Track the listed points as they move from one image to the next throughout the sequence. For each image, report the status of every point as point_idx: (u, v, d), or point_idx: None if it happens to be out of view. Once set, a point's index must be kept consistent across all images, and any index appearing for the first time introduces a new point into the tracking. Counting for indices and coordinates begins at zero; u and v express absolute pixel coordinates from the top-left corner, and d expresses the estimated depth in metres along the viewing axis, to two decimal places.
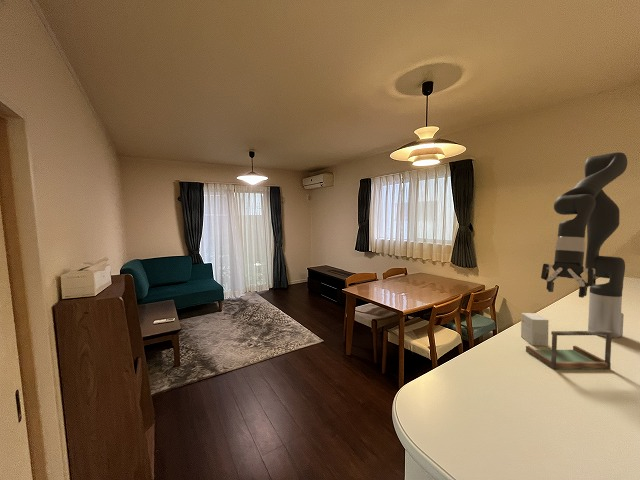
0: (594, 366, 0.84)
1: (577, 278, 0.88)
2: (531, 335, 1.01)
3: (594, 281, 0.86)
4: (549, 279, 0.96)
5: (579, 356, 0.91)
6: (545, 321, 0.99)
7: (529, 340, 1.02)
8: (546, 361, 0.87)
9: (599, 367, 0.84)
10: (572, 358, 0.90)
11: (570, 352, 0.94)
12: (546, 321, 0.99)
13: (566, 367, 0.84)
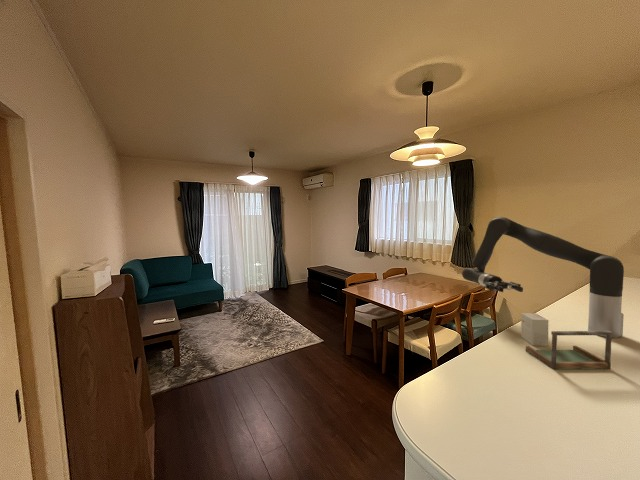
0: (594, 366, 0.84)
1: None
2: (531, 335, 1.01)
3: (488, 284, 1.22)
4: None
5: (579, 356, 0.91)
6: (545, 321, 0.99)
7: (529, 340, 1.02)
8: (546, 361, 0.87)
9: (599, 367, 0.84)
10: (572, 358, 0.90)
11: (570, 352, 0.94)
12: (546, 321, 0.99)
13: (566, 367, 0.84)
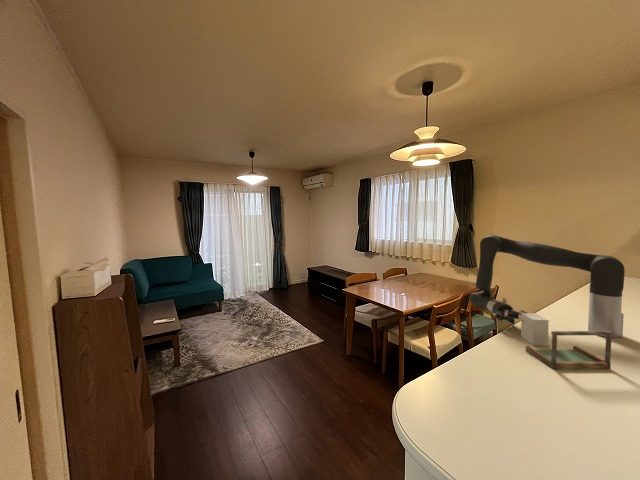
0: (594, 366, 0.84)
1: None
2: (531, 335, 1.01)
3: (498, 314, 1.16)
4: None
5: (579, 356, 0.91)
6: (545, 321, 0.99)
7: (529, 340, 1.02)
8: (546, 361, 0.87)
9: (599, 367, 0.84)
10: (572, 358, 0.90)
11: (570, 352, 0.94)
12: (546, 321, 0.99)
13: (566, 367, 0.84)
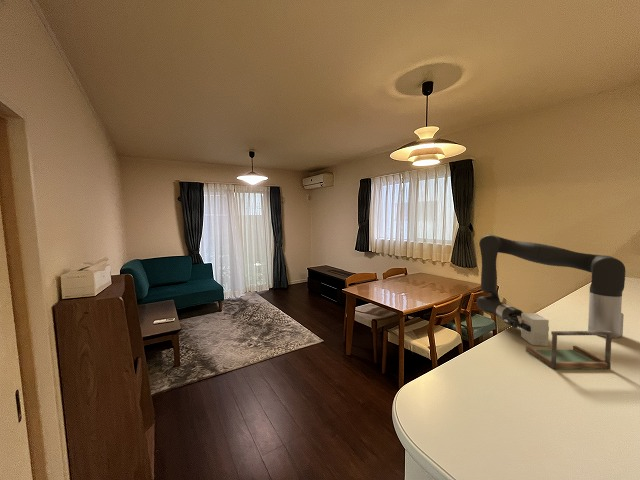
0: (594, 366, 0.84)
1: None
2: (531, 335, 1.01)
3: (512, 321, 1.07)
4: None
5: (579, 356, 0.91)
6: (545, 321, 0.99)
7: (529, 340, 1.02)
8: (546, 361, 0.87)
9: (599, 367, 0.84)
10: (572, 358, 0.90)
11: (570, 352, 0.94)
12: (546, 321, 0.99)
13: (566, 367, 0.84)
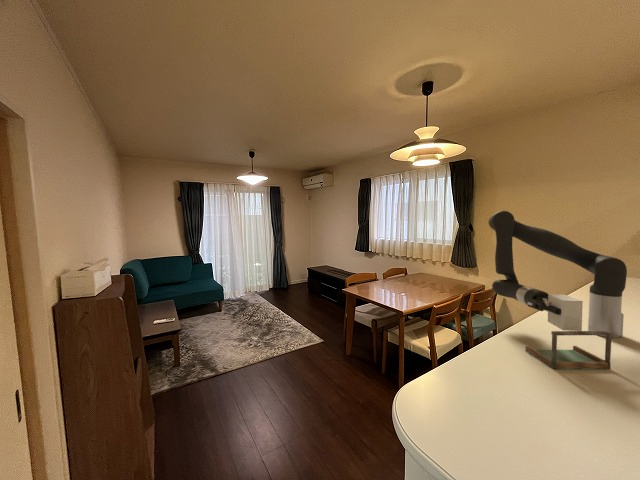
0: (594, 366, 0.84)
1: None
2: (562, 318, 0.87)
3: (537, 304, 0.94)
4: None
5: (579, 356, 0.91)
6: (579, 302, 0.85)
7: (559, 325, 0.89)
8: (546, 361, 0.87)
9: (599, 367, 0.84)
10: (572, 358, 0.90)
11: (570, 352, 0.94)
12: (580, 302, 0.85)
13: (566, 367, 0.84)
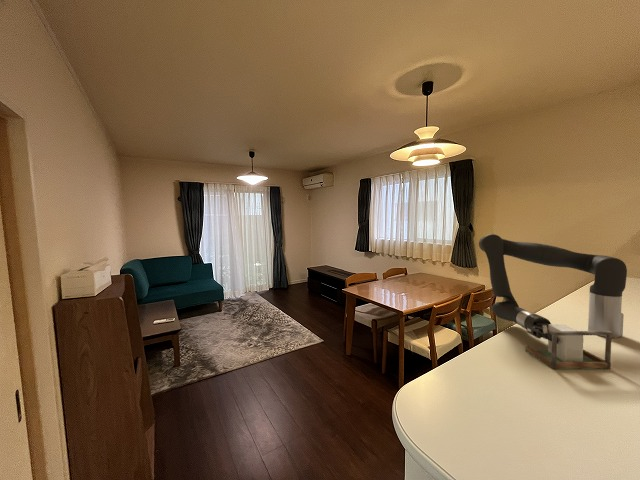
0: (594, 366, 0.84)
1: None
2: (563, 350, 0.87)
3: (535, 331, 0.94)
4: None
5: None
6: (579, 335, 0.86)
7: (560, 356, 0.89)
8: (546, 361, 0.87)
9: (599, 367, 0.84)
10: None
11: None
12: (581, 335, 0.86)
13: (566, 367, 0.84)
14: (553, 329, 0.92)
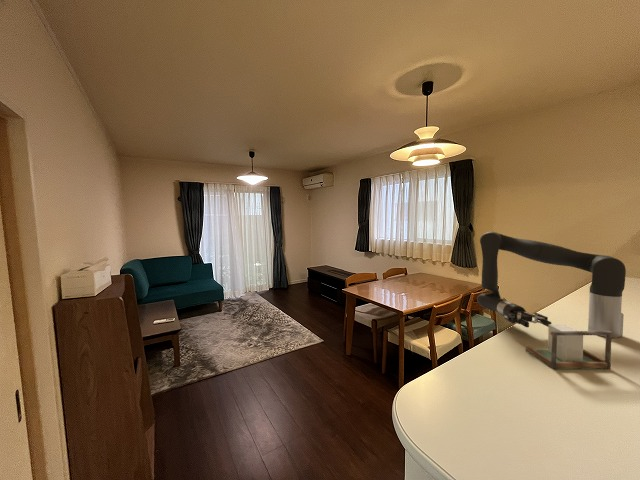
0: (594, 366, 0.84)
1: None
2: (563, 350, 0.87)
3: (510, 317, 1.08)
4: None
5: None
6: (579, 335, 0.86)
7: (560, 356, 0.89)
8: (546, 361, 0.87)
9: (599, 367, 0.84)
10: None
11: None
12: (581, 335, 0.86)
13: (566, 367, 0.84)
14: (553, 329, 0.92)
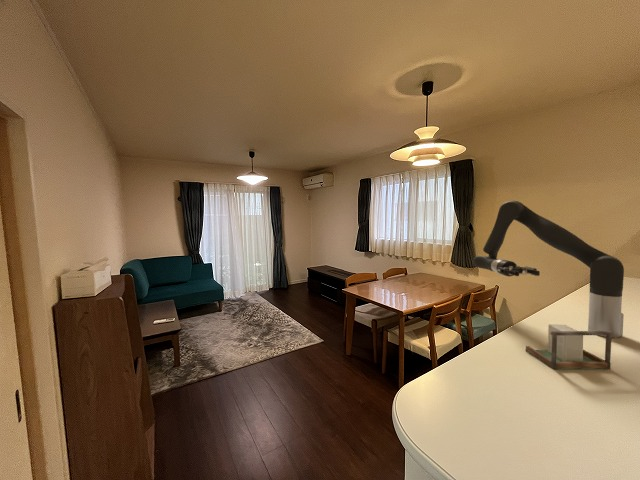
0: (594, 366, 0.84)
1: None
2: (563, 350, 0.87)
3: (503, 269, 1.18)
4: None
5: None
6: (579, 335, 0.86)
7: (560, 356, 0.89)
8: (546, 361, 0.87)
9: (599, 367, 0.84)
10: None
11: None
12: (581, 335, 0.86)
13: (566, 367, 0.84)
14: (553, 329, 0.92)
